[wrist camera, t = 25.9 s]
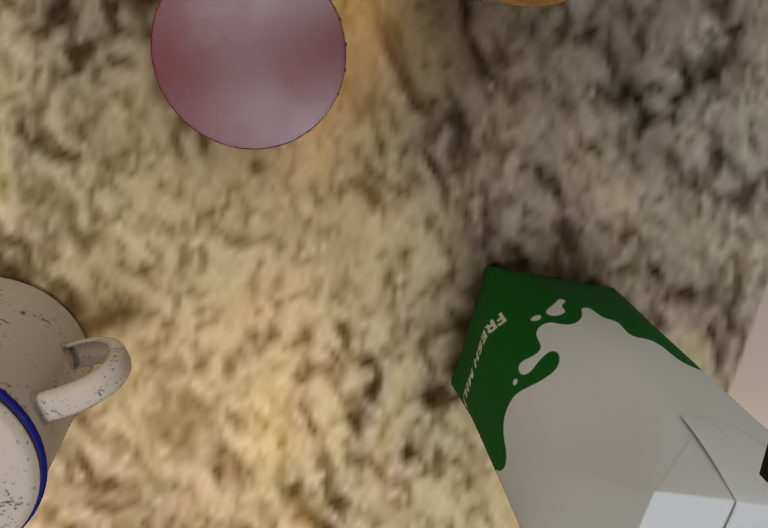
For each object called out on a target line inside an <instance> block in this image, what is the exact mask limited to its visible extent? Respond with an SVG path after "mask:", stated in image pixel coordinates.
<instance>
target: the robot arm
mask: <svg viewBox="0 0 768 528" xmlns="http://www.w3.org/2000/svg"><path fill="white" fill-rule="evenodd" d="M759 474H760V476H761V477H762V478H763V479H764V480H765V481H766V482H767V483H768V444H767V448H766V451H765V455H764V458H763V462H762V466H761V469H760V473H759Z"/></svg>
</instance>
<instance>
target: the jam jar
mask: <svg viewBox="0 0 768 528" xmlns="http://www.w3.org/2000/svg"><path fill="white" fill-rule="evenodd" d="M462 1H472V2H483V3H494V4H504V5H515V6H525V7H537V6H547V5H553V4H558V3H561V2H564V1H567V0H462Z"/></svg>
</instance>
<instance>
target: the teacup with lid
mask: <svg viewBox="0 0 768 528" xmlns="http://www.w3.org/2000/svg"><path fill="white" fill-rule="evenodd" d="M95 364H101V365H100V366H99V367H98V368H97V369H95V370H94V371H92V372H91V365H95ZM130 371H131V359H130V356H129V354H128V352H127V350H126V348H125V346H124V345H123V344H122V343H121V342H120V341H118V340H117V339H114V338H110V337H93V338H88V339H85V336H84V334H83V332H82V330H81V328H80V327H79V325H78V323H77V322H76V321H75V319H74V318H73V317H72V315H71V314H70V313H69V312H68V311H67V310H66V309H65V308H64V307H63V306H62V305H61V304H60V303H58V302H57V301H56V300H55V299H53V298H52V297H50V296H49V295H47V294H46V293H44V292H42V291H40V290H39V289H37V288H34V287H32V286H30V285H28V284H25V283H22V282H19V281H15V280H12V279H7V278H2V277H0V528H23V527H24V526H25V525H26V524H27V523H28V521H29V520H30V519H31V517H32V516H33V515H34V513H35V511H36V510H37V508H38V506H39V504H40V502H41V499H42V497H43V494H44V491H45V487H46V482H47V472H48V470H49V468H50V466H51V464H52V462H53V460H54V458H55V455H56V453H57V451H58V449H59V447H60V445H61V443H62V441H63V439H64V437H65V434H66V432H67V430H68V428H69V426H70V424H71V422H72V420H73V418H74V415H75V414H76V413H78V412H81V411H84V410H86V409H88V408H90V407H92V406H94V405H96V404H98V403H100V402H102V401H103V400H105V399H106V398H108V397H109V396H111V395H112V394H113V393H115V392H116V391H117V390H118V389H119V388H120V387H121V386H122V385H123V384H124V383H125V381H126V380H127V378H128V376H129V374H130Z"/></svg>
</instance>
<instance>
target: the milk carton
mask: <svg viewBox="0 0 768 528" xmlns="http://www.w3.org/2000/svg"><path fill="white" fill-rule="evenodd" d="M452 386H453V388H454V389H455V391H456V392H457V394H458V396H459V397H460V399H461V401H462V402H463V404H464V405H465V407H466V409H467V410H468V412H469V413H470V415H471V417H472V419H473V421H474V423H475V425H476V428H477V430H478V432H479V434H480V437H481V439H482V441H483V443H484V446H485V448H486V450H487V452H488V455H489V457H490V459H491V462H492V464H493V466H494V468H495V471H496V473H497V475H498V477H499V480H500V482H501V484H502V486H503V489H504V491H505V493H506V496H507V498H508V500H509V502H510V505H511V507H512V509H513V511H514V514H515V516H516V518H517V520H518V523H519V525H520V527H521V528H768V483H767V482H766V481H765V480H764V479H763V478H762V477H761V476H760V474H759V473H760V469H761V466H762V462H763V458H764V455H765V451H766V448H767V444H768V429H766V428H765V427H764V426H763V425H761V424H760V423H759V422H758V421H757V420H755V418H754V417H752V416H751V415H750V414H749V413H748V412H747V411H746V410H744V408H743V407H741V406H740V405H739V404H738V403H737V402H736V401H735V400H734V399H733V398H732V397H730V396H729V395H728V394H727V393H726V392H725V391H724V390H723V389H722V388H721V387H720V386H719V385H717V384H716V383H715V382H714V381H713V380H712V379H711V378H710V377H709V376H708V375H707V374H705V373H704V372H703V371H702V370H701V369H700V368H699V367H698V366H697V365H696V364H695V363H693V362H692V361H691V360H690V359H689V358H688V357H687V356H686V355H685V354H684V353H683V352H682V351H680V350H679V349H678V348H677V347H676V346H675V345H674V344H673V343H672V342H671V341H670V340H668V339H667V338H666V337H665V336H664V335H663V334H662V333H661V332H660V331H659V330H658V329H656V328H655V327H654V326H653V325H652V324H651V323H650V322H649V321H648V320H647V319H646V318H645V317H644V316H643V315H642V314H641V313H640V312H639V311H638V310H637V309H635V308H634V307H633V306H632V305H631V304H630V303H629V302H628V301H627V300H626V299H625V298H624V297H623V296H621V295H620V294H619V293H618V292H617V291H616V290H615V289H614V288H608V287H603V286H597V285H592V284H587V283H581V282H576V281H570V280H565V279H559V278H554V277H548V276H543V275H537V274H532V273H526V272H521V271H515V270H510V269H505V268H499V267H494V266H487V269H486V273H485V276H484V279H483V282H482V286H481V289H480V292H479V296H478V299H477V302H476V305H475V309H474V312H473V315H472V319H471V322H470V325H469V328H468V332H467V335H466V338H465V342H464V345H463V348H462V351H461V355H460V358H459V361H458V364H457V368H456V371H455V374H454V378H453V381H452Z"/></svg>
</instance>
